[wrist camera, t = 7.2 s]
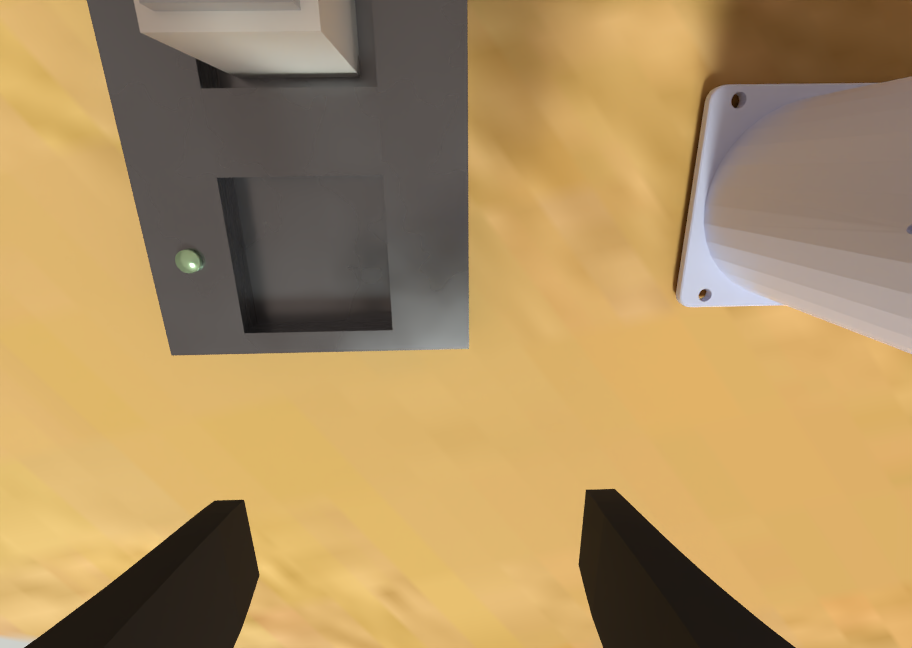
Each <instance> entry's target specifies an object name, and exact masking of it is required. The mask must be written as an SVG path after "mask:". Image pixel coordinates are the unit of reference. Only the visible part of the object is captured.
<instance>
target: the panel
mask: <svg viewBox="0 0 912 648" xmlns="http://www.w3.org/2000/svg"><path fill="white" fill-rule="evenodd" d="M87 3H88V7H89V11H90V15H91V20H92V24H93V28H94V32H95V36H96V41H97V45H98V49H99V53H100V57H101V62H102V66H103V70H104V74H105V78H106V82H107V87H108V91H109V95H110V99H111V103H112V108H113V112H114V116H115V120H116V124H117V129H118V133H119V137H120V141H121V145H122V150H123V154H124V158H125V162H126V166H127V170H128V175H129V179H130V183H131V187H132V191H133V196H134V200H135V204H136V208H137V212H138V217H139V221H140V225H141V229H142V233H143V238H144V242H145V246H146V250H147V254H148V259H149V263H150V267H151V271H152V275H153V279H154V284H155V288H156V292H157V296H158V300H159V305H160V309H161V313H162V317H163V321H164V326H165V330H166V334H167V338H168V342H169V347H170V351H171V355H210V354H255V353H299V352H344V351H388V350H433V349H469V271H468V49H467V0H355V8H356V22H357V36H358V49H359V63H360V76H361V77H308V78H237V77H235V76H233V75H231V74H229V73H226V72H224V71H222V70H220V69H218V68H216V67H213V66H211V65H209V64H207V63H205V62H203V61H200V60H198V59H196V58H194V57H192V56H190V55H188V54H185V53H183V52H181V51H179V50H177V49H175V48H172V47H170V46H168V45H166V44H164V43H162V42H159V41H157V40H155V39H153V38H151V37H149V36H147V35H144V34H142V33H140V29H139V24H138V19H137V15H136V10H135V5H134V0H87Z"/></svg>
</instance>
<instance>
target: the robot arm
mask: <svg viewBox="0 0 912 648" xmlns="http://www.w3.org/2000/svg"><path fill="white" fill-rule="evenodd" d="M735 94H737V95H738V97H739V104H738V106H737V107H736V108H734V107H733V106H732V103H731V100H732V97H733V95H735ZM703 289H706V294H705V296H704V297H703V298H701V299H699V296H698V295H699V293H700V292H701V291H702V290H703ZM676 299H677V300H678V302H679V303H681V304H682V305H684V306H687V307H720V306H769V305H786V306H789V307H791V308H794V309H796V310H799V311H802V312H804V313H807V314H809V315H812V316H815V317H817V318H820V319H822V320H825V321H828V322H830V323H833V324H835V325H838V326H841V327H843V328H846V329H848V330H851V331H853V332H856V333H859V334H861V335H864V336H866V337H869V338H872V339H874V340H877V341H879V342H882V343H885V344H887V345H890V346H892V347H895V348H897V349H900V350H903V351H905V352H908V353H910V354H912V76H910V77H906V78H901V79H896V80H891V81H886V82H882V83H818V84H726V85H722V86H718V87H716V88H714V89H713V90H711V91H710V92H709V94H708V95H707V97H706V100H705V104H704V111H703V118H702V124H701V131H700V138H699V144H698V151H697V157H696V164H695V171H694V177H693V184H692V190H691V197H690V204H689V210H688V217H687V224H686V230H685V237H684V243H683V250H682V257H681V263H680V270H679V276H678V283H677V290H676ZM579 568H580V572H581V576H582V580H583V584H584V588H585V592H586V596H587V600H588V603H589V607H590V611H591V614H592V618H593V621H594V623H595V626H596V629H597V632H598V634H599V637H600V640H601V643H602V645H603V648H795V647H794V646H793V645H791V644H790V643H789V642H787V641H786V640H785V639H783V638H782V637H781V636H779V635H778V634H777V633H776V632H774V631H773V630H772V629H771V628H769V627H768V626H767V625H765V624H764V623H763V622H762V621H760V620H759V619H758V618H757V617H756V616H754V615H753V614H752V613H751V612H749V611H748V610H747V609H746V608H745V607H743V606H742V605H741V604H740V603H739V602H737V601H736V600H735V599H734V598H733V597H731V596H730V595H729V594H728V593H727V592H725V591H724V590H723V589H722V588H721V587H720V586H718V585H717V584H716V583H715V582H714V581H713V580H711V579H710V578H709V577H708V576H707V575H706V574H705V573H703V572H702V571H701V570H700V569H699V568H698V567H697V566H696V565H695V564H693V563H692V562H691V561H690V560H689V559H688V558H687V557H686V556H685V555H684V554H682V553H681V552H680V551H679V550H678V549H677V548H676V547H675V546H674V545H673V544H672V543H671V542H669V541H668V540H667V539H666V538H665V537H664V536H663V535H662V534H661V533H660V532H659V531H658V530H657V529H656V528H655V527H654V526H653V525H652V524H650V523H649V522H648V521H647V520H646V519H645V518H644V517H643V516H642V515H641V514H640V513H639V512H638V511H637V510H636V509H635V508H634V507H633V506H632V505H631V504H630V503H629V502H628V501H627V500H626V499H625V498H624V497H623V496H621V495H620V494H619V493H618V492H617V491H616V490H615V489H600V490H586V496H585V506H584V516H583V526H582V536H581V547H580V557H579ZM258 578H259V571H258V566H257V561H256V556H255V551H254V546H253V541H252V537H251V532H250V527H249V522H248V517H247V512H246V507H245V502H244V500H222V501H214V502H212V503H211V504H210V505H208V506H207V507H206V508H204V509H203V510H202V511H200V512H199V513H198V514H197V515H195V516H194V517H193V518H192V519H190V520H189V521H188V522H187V523H185V524H184V525H183V526H182V527H180V528H179V529H178V530H177V531H175V532H174V533H173V534H172V535H170V536H169V537H168V538H167V539H166V540H164V541H163V542H162V543H161V544H159V545H158V546H157V547H156V548H154V549H153V550H152V551H151V552H149V553H148V554H147V555H146V556H144V557H143V558H142V559H141V560H139V561H138V562H137V563H136V564H134V565H133V566H132V567H131V568H129V569H128V570H127V571H126V572H124V573H123V574H122V575H121V576H119V577H118V578H117V579H115V580H114V581H113V582H112V583H110V584H109V585H108V586H107V587H105V588H104V589H103V590H101V591H100V592H99V593H97V594H96V595H95V596H93V597H92V598H91V599H89V600H88V601H87V602H85V603H84V604H83V605H81V606H80V607H79V608H77V609H76V610H75V611H73V612H72V613H71V614H69V615H68V616H67V617H65V618H64V619H63V620H61V621H60V622H59V623H57V624H56V625H55V626H53V627H52V628H51V629H49V630H48V631H47V632H45V633H44V634H43V635H41V636H40V637H38V638H37V639H36V640H34V641H33V642H31V643H30V644H29V645H27V646H26V647H24V648H233V647H234V645H235V643H236V640H237V638H238V636H239V634H240V631H241V629H242V626H243V623H244V621H245V618H246V615H247V612H248V609H249V606H250V603H251V600H252V597H253V594H254V590H255V587H256V584H257V581H258Z"/></svg>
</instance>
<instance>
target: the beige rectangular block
mask: <svg viewBox="0 0 912 648" xmlns="http://www.w3.org/2000/svg"><path fill="white" fill-rule="evenodd" d="M134 5H135V10H136V15H137V19H138V24H139V29H140V33H142V34H144V35H147V36H149V37H151V38H153V39H155V40H157V41H159V42H162V43H164V44H166V45H168V46H170V47H172V48H175V49H177V50H179V51H181V52H183V53H185V54H188V55H190V56H192V57H194V58H196V59H198V60H200V61H203V62H205V63H207V64H209V65H211V66H213V67H216V68H218V69H220V70H222V71H224V72H226V73H229V74H231V75H233V76H235V77H237V78H308V77H361V76H360V63H359V49H358V36H357V22H356V8H355V0H134Z"/></svg>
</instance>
